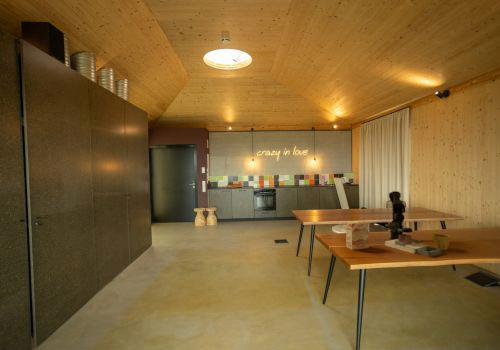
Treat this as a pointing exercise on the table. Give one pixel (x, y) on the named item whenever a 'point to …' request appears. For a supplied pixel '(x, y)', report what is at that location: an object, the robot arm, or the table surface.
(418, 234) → the table surface
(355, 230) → the coffeecake box
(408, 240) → the walnut block
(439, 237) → the plant pot
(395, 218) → the robot arm
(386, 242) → the tunnel deck
